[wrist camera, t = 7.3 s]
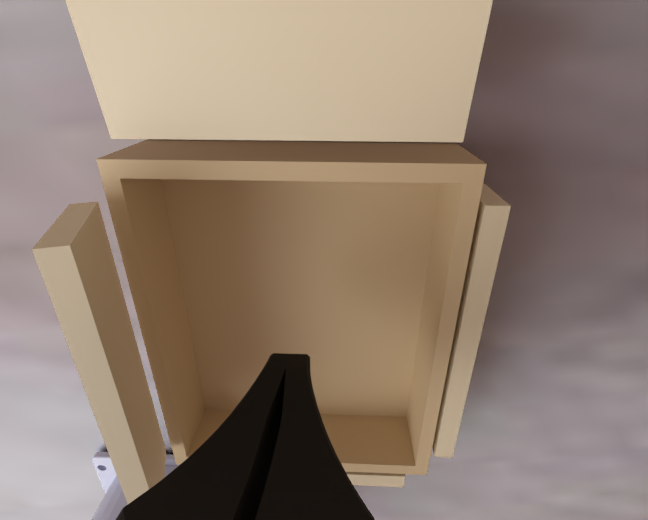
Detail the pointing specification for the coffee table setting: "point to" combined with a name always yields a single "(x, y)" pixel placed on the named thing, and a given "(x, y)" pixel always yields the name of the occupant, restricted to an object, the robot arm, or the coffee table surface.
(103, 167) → the carton
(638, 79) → the coffee table surface
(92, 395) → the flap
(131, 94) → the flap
